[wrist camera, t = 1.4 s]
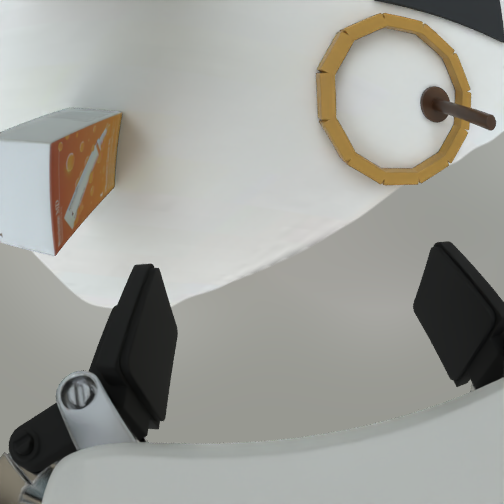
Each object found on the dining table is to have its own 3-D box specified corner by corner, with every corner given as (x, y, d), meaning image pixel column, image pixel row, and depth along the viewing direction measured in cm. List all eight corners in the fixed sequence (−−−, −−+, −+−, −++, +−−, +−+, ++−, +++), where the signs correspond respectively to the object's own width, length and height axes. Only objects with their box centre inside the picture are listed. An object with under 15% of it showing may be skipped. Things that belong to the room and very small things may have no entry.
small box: (115, 187, 28) (56, 260, 17) (64, 179, 27) (-7, 243, 16) (124, 110, 24) (50, 142, 13) (69, 105, 23) (-19, 138, 12)
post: (420, 83, 23) (477, 96, 16) (448, 89, 23) (506, 104, 16) (419, 119, 25) (474, 142, 18) (447, 123, 25) (502, 147, 18)
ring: (310, 7, 19) (314, 4, 18) (462, 37, 19) (470, 37, 18) (318, 183, 29) (322, 188, 28) (455, 180, 29) (461, 184, 28)
